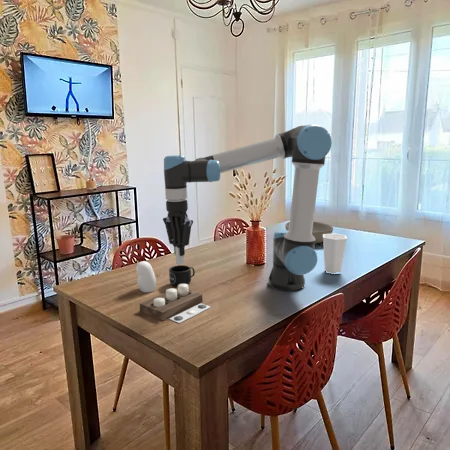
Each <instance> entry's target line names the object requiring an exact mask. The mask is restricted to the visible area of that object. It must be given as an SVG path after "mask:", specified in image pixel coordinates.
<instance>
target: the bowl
mask: <svg viewBox="0 0 450 450" xmlns="http://www.w3.org/2000/svg"><path fill="white" fill-rule="evenodd" d="M289 223H290V221H289V222H286V224H285V225H284V226H285V230H289ZM333 231H334V227H333V226H332V225H330V224H328V223H324V222H318V221H314V220H313V229H312V235H313V236H314V237H315V245H318V244H317V243H320V244H323V243H322V242H323V234H331V233H333Z"/></svg>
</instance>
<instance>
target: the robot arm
mask: <svg viewBox="0 0 450 450" xmlns="http://www.w3.org/2000/svg"><path fill="white" fill-rule="evenodd" d="M331 149H332V136H331V134H330V132H329V131H328V130H327V129H326V127H323V126H322V125H318V124H305V125H299V126H296V127H294V128H291V129H289V130H286V131H285V132H281V133H277V134H275V136H274V137H273V138H269V139H266V140H262V141H259V142H256V143H251V144H247V145H244V146H241V147H236V148H234V149H230V150H226V151H223V152H220V153H219V152H218V153H215V154H212V155H209V156H204V157H198V158H195V160H187V159H186V156H185V155H184V154H183V155H181V154H180V155H179V154H178V155H174V154H173V155H167V156H165V157H164V159H163V176H164V189H165V200H166V201H165V205H166V208H165V209H166V211H167V216H165V217H163V218H162V221H163V223H164V225H165V229H166V234H167V237H168V242H169V244H170V245H172V246H173V251H174V255H175V265H176V266H178V265H184V263H185V253H186V251H185V247H186V246H189V245H190V238H191V231H192V230H191V229H192V226H193V223H194V221H193V220H191V219H189V217H188V213H187V212H188V200H187V199H188V191H187V190H188V189H187V187H188V185H187V184H188V183H212V182H219V181H220V180H221V174H222V173H227V172H230V171H233V170H234V171H235V170H237V169H238V170H239V169H241V168H245V167H248V166H252V165H257V164H259V163H262V162H266V161H270V160H274V159H277V158H279V159H282V160H283V159H288V158H291V164H292V165H293V166H294V176H293V177H294V178H293V185H292V186H293V188H292V195H291V196H292V197H291V206H290V207H291V208H290V216H289V222H290V223H289V230H286V229H285V230H277V231H275V232H274V234H273V238H272V240H273V241H272V242H273V246H272V247H273V251H272V268H271V270H270V273H269V277H268V282H267V283H268V285H269V286H270V287H271V288H273V289H275V290H278V291H285V292H286V291H288V292H293V291H292V290H295V291H298V290H297V289H300V288H302V287H304V288H305V286H306V280H305V276H304V275H307V274H309V273H310V272H312V271H313V270H314V269H315V268H316V266H317V263H318V255H317V252H316V250H315V246H316V244H315V237H314V236H313V235H312V229H313V221H314V217H315V210H316V201H317V192H318V184H319V179H320V178H319V175H320V170H321V168H323V166H325V162H326V156H327V155H329V152H330V151H331ZM304 285H305V286H304ZM302 289H303V288H302ZM300 290H301V289H300Z"/></svg>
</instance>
